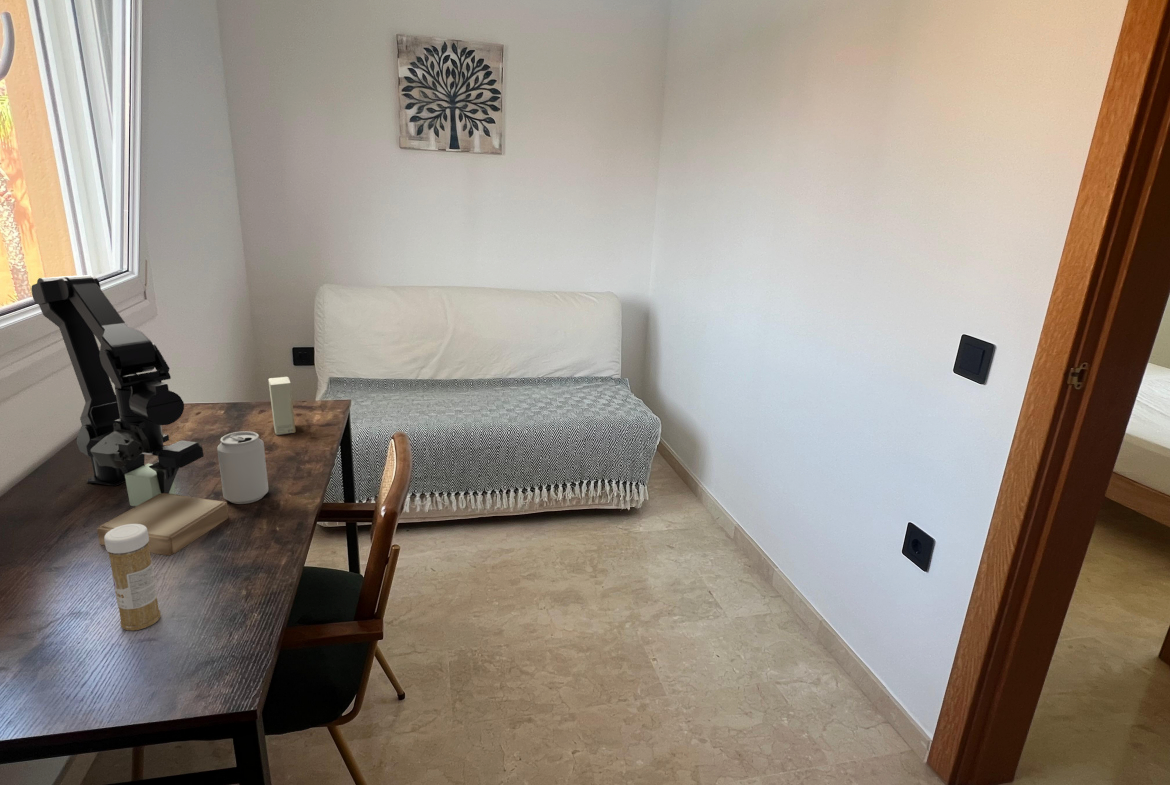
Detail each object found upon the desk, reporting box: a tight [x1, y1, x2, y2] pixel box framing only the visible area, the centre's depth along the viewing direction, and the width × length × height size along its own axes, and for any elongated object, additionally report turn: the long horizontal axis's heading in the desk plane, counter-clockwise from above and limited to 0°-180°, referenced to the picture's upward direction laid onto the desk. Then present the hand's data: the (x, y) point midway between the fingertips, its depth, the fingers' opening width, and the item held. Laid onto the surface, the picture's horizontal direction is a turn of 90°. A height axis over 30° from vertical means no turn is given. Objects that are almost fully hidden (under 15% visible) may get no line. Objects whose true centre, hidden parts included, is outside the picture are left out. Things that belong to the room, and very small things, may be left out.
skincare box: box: [268, 376, 296, 436], centre depth 153 cm, size 6×4×12 cm
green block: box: [125, 463, 177, 507], centre depth 118 cm, size 5×5×6 cm
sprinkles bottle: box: [104, 524, 162, 631], centre depth 85 cm, size 5×5×13 cm
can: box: [216, 430, 269, 505], centre depth 120 cm, size 8×8×12 cm
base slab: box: [96, 493, 230, 557], centre depth 109 cm, size 13×13×3 cm
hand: (152, 493), depth 118 cm, fingers closed on green block, 5 cm apart
